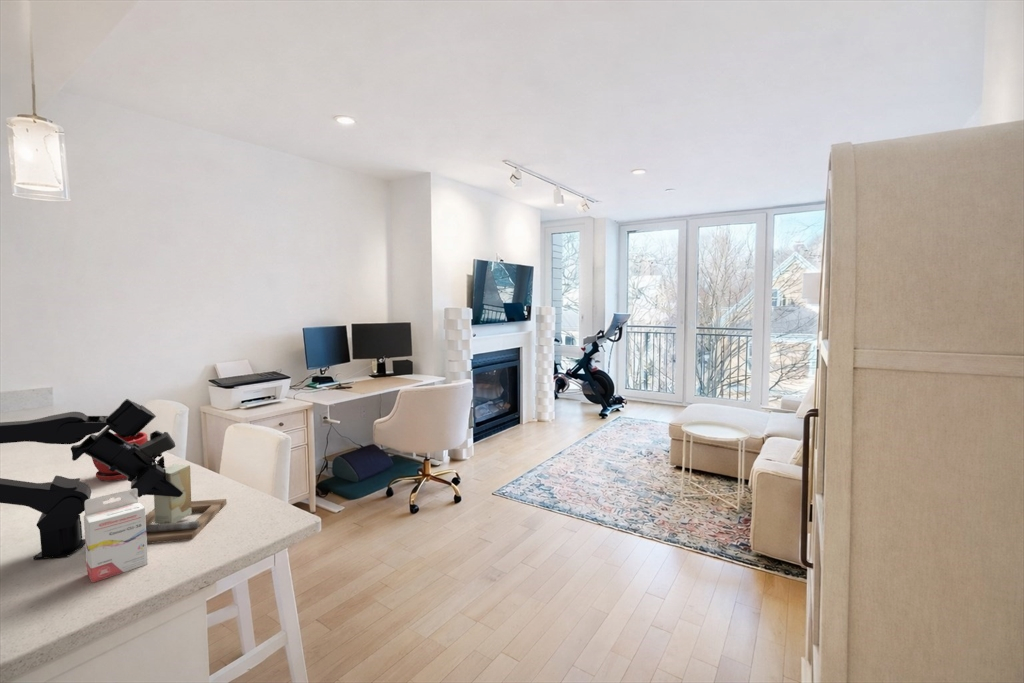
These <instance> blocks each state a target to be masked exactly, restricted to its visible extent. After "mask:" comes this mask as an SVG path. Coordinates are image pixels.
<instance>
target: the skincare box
mask: <svg viewBox="0 0 1024 683" xmlns="http://www.w3.org/2000/svg"><path fill="white" fill-rule="evenodd" d="M165 467H166V468H163V469H166V478H167V479H168V480H169V481H170V482H171V483H173V484H174V485H175V486H176V487H177V488H178V489H180V490H181V491H182V492H183V494H182V495H181V496H180V497H172V496H159V495H153V502H154V503H153V504H154V505H153V506H154V507H153V509H155V521H154V524H166V523H178V522H180V521H181V520H183V519H184V518H186V517H188V516H190V515H192V508H191V501H192V484H191V483H192V478H191V464H179V463H178V464H177V463H174V464H172V465H168V466H165Z"/></svg>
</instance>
